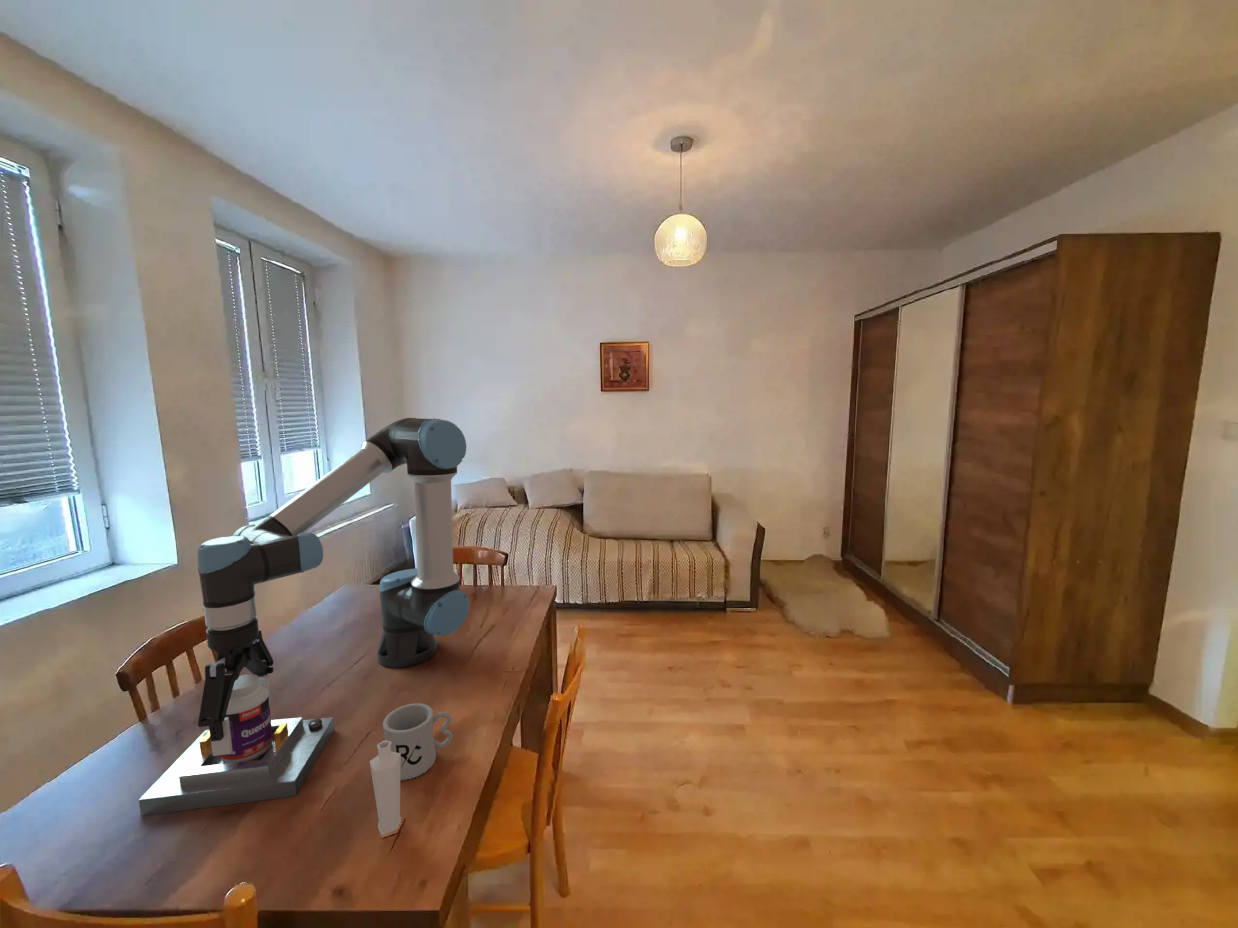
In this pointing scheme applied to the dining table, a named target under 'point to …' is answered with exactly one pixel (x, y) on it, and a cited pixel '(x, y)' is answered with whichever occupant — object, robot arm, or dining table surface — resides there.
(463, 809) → the dining table surface
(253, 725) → the pill bottle
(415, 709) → the mug
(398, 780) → the perfume bottle
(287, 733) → the grey clamping fixture
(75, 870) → the dining table surface
